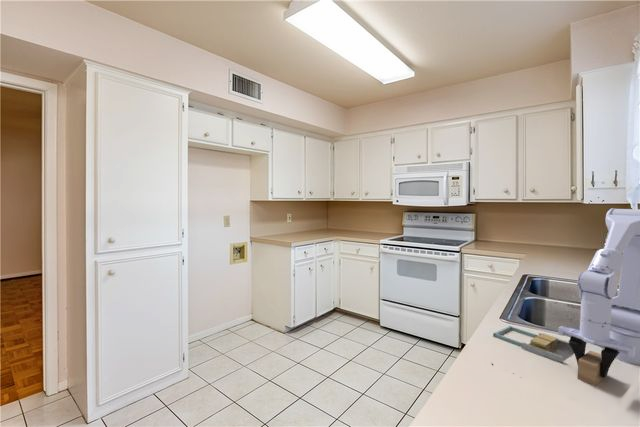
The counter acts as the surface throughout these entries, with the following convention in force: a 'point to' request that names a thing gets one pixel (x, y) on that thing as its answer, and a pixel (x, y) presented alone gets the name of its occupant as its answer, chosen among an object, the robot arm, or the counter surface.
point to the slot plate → (552, 351)
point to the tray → (498, 335)
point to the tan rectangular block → (590, 368)
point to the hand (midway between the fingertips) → (592, 372)
